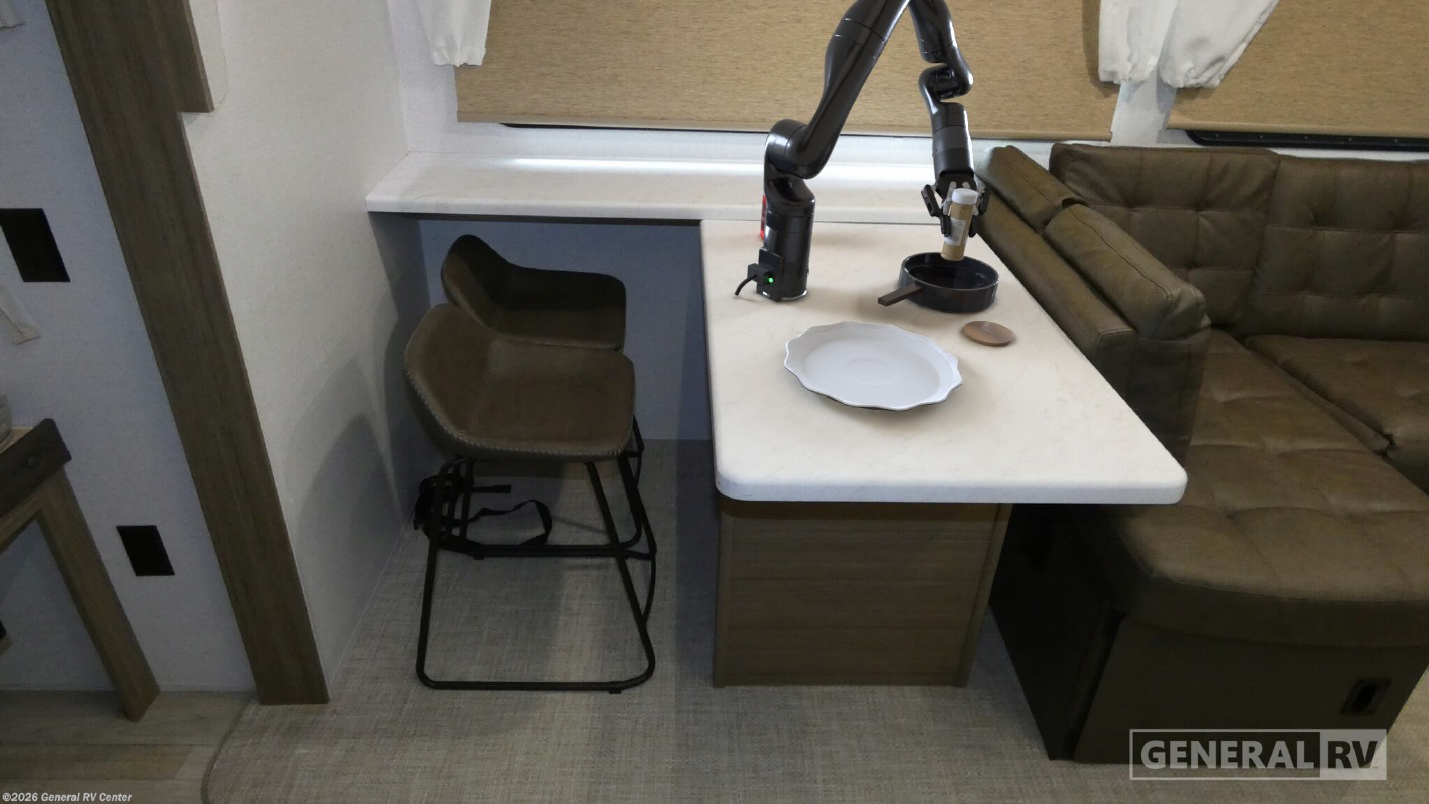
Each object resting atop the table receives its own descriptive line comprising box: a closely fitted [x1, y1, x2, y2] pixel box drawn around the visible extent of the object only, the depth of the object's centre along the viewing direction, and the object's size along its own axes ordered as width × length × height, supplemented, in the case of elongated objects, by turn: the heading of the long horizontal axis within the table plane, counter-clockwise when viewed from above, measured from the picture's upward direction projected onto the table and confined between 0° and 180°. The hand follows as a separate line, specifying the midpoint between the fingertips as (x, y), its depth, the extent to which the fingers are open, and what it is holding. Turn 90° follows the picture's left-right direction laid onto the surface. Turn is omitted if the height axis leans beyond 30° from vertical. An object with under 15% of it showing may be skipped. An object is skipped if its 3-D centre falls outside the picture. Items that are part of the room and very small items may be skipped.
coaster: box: [962, 320, 1014, 347], centre depth 155 cm, size 9×9×1 cm
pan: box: [897, 251, 1000, 314], centre depth 169 cm, size 19×19×5 cm
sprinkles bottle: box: [940, 188, 978, 261], centre depth 163 cm, size 5×5×14 cm
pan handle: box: [876, 283, 923, 308], centre depth 159 cm, size 11×2×1 cm, turn 131°
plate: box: [783, 320, 964, 412], centre depth 140 cm, size 29×29×2 cm
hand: (960, 235), depth 162 cm, fingers closed on sprinkles bottle, 4 cm apart
